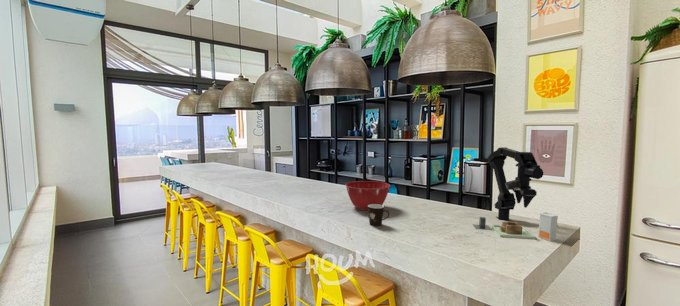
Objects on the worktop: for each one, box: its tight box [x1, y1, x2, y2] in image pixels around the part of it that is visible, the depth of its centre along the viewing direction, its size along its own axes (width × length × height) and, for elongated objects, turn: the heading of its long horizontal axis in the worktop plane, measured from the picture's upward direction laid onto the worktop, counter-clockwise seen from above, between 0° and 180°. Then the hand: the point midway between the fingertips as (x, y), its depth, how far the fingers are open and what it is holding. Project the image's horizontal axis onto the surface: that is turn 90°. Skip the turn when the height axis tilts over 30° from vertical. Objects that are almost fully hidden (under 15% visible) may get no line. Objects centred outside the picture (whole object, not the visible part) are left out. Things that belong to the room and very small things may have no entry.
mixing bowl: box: [345, 180, 391, 211], centre depth 207 cm, size 28×28×16 cm
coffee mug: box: [367, 204, 390, 227], centre depth 171 cm, size 12×9×10 cm
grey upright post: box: [472, 216, 493, 231], centre depth 169 cm, size 8×8×6 cm
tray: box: [489, 223, 537, 240], centre depth 161 cm, size 16×16×2 cm
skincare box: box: [537, 212, 559, 242], centre depth 153 cm, size 6×4×12 cm
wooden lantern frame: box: [499, 221, 522, 235], centre depth 161 cm, size 9×7×4 cm
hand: (521, 205), depth 170 cm, fingers open, 9 cm apart
